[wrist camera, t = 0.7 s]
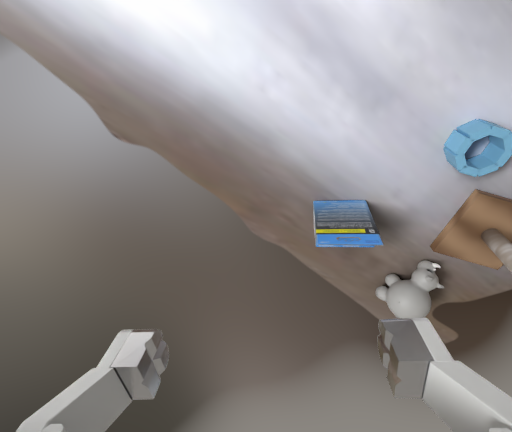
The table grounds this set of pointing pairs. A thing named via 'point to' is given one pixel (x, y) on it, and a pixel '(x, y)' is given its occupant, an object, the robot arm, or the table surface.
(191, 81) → the table surface
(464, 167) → the ring
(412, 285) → the round bodied animal figurine
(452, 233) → the post block
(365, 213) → the blue printed box
